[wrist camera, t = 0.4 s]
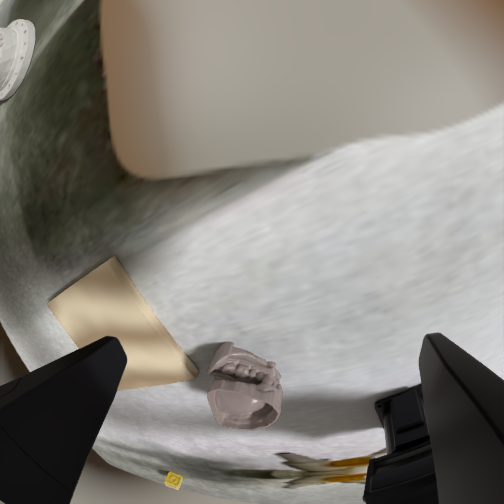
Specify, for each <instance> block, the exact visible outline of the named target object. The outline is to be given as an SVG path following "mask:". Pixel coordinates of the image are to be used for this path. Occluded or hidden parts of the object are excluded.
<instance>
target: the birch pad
mask: <svg viewBox="0 0 504 504" xmlns="http://www.w3.org/2000/svg"><path fill="white" fill-rule="evenodd" d="M47 305H48V307H49V308H50V310H51V311H52V313H53V314H54V316H55V317H56V318H57V320H58V321H59V323H60V324H61V325H62V327H63V328H64V330H65V331H66V332H67V334H68V335H69V336H70V338H71V339H72V340H73V341H74V343H75V344H76V345H77V347H78V348H79V349H80V348H82V347H84V346H86V345H88V344H90V343H92V342H94V341H96V340H99V339H101V338H103V337H105V336H114V337H117V338H118V339H119V341H120V343H121V345H122V347H123V349H124V351H125V353H126V355H127V365H126V367H125V370H124V373H123V375H122V378H121V381H120V384H119V386H118V389H117V391H118V390H127V389H136V388H143V387H151V386H157V385H164V384H170V383H176V382H182V381H188V380H193V379H196V377H197V374H198V372H199V370H198V369H197V368H196V366H195V365H194V364H193V363H192V362H191V360H190V359H189V358H188V357H187V356H186V354H185V353H184V352H183V351H182V349H181V348H180V347H179V346H178V344H177V343H176V342H175V341H174V339H173V338H172V337H171V335H170V334H169V333H168V331H167V330H166V329H165V328H164V326H163V325H162V324H161V322H160V321H159V319H158V318H157V317H156V315H155V314H154V313H153V311H152V310H151V309H150V307H149V306H148V304H147V303H146V302H145V300H144V299H143V297H142V296H141V294H140V293H139V292H138V290H137V289H136V287H135V286H134V284H133V283H132V281H131V280H130V278H129V277H128V275H127V274H126V272H125V271H124V269H123V268H122V266H121V264H120V263H119V261H118V260H117V258H116V257H115V256H113V257H112V258H110V259H109V260H107V261H106V262H104V263H103V264H101V265H100V266H98V267H97V268H95V269H94V270H93V271H91V272H90V273H88V274H87V275H85V276H84V277H83V278H81V279H80V280H78V281H77V282H75V283H74V284H73V285H71V286H70V287H69V288H67V289H66V290H64V291H63V292H62V293H60V294H59V295H58V296H56V297H55V298H54V299H52V300H51V301H50V302H49V303H47Z"/></svg>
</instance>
